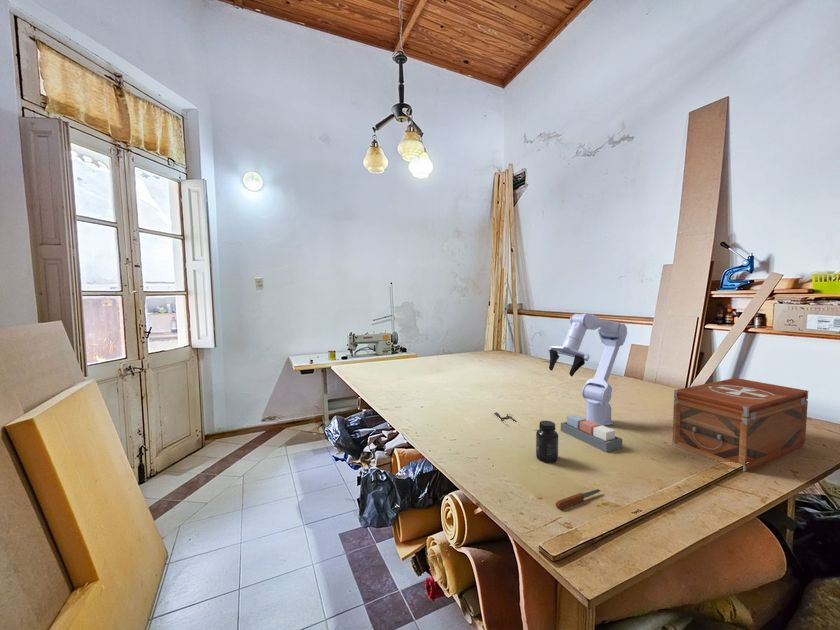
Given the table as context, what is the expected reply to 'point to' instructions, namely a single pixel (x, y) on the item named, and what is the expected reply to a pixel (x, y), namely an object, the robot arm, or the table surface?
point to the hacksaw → (504, 417)
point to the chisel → (574, 499)
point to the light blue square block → (575, 421)
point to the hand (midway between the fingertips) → (560, 372)
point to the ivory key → (604, 433)
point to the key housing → (592, 438)
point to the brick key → (588, 426)
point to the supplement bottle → (547, 442)
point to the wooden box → (740, 421)
